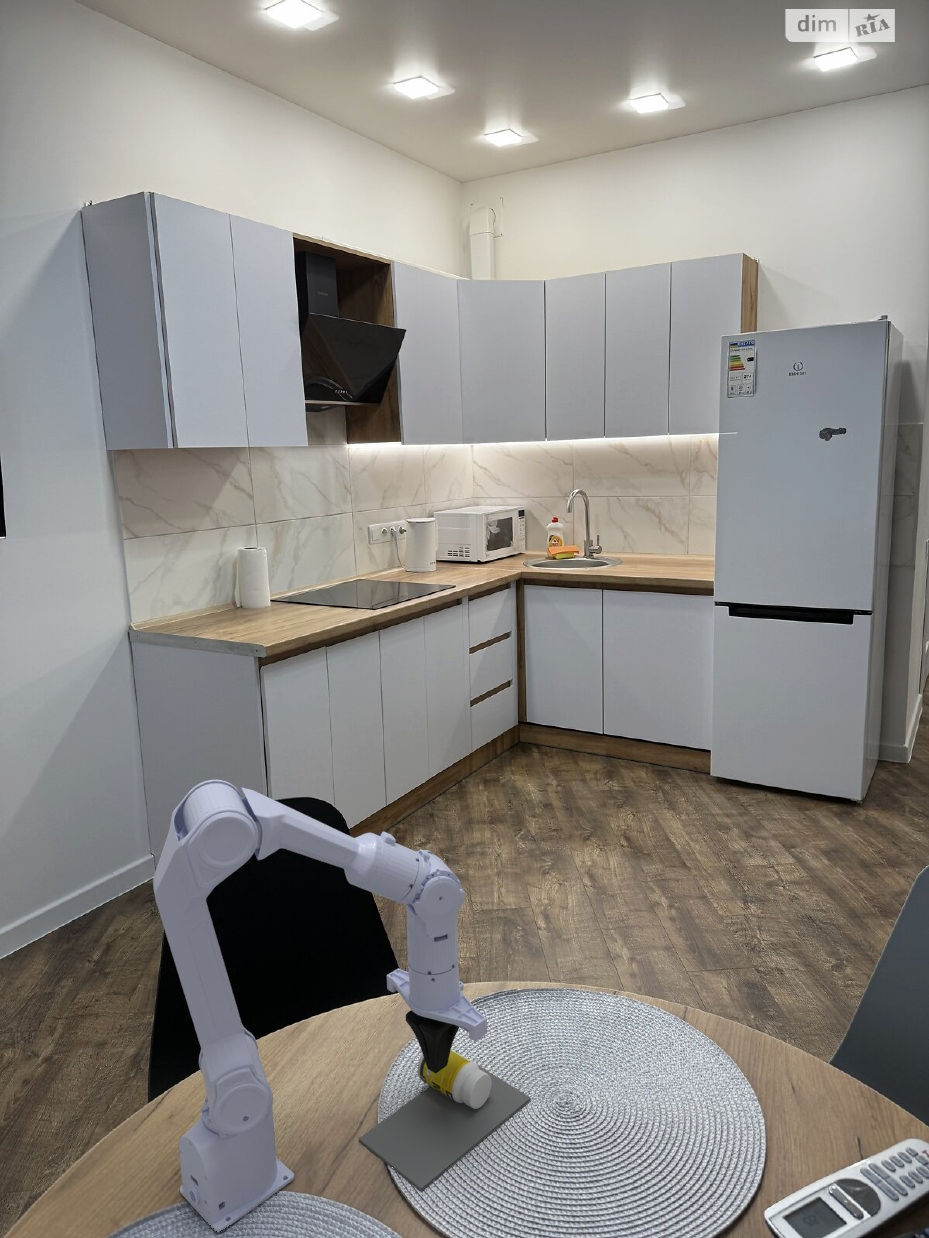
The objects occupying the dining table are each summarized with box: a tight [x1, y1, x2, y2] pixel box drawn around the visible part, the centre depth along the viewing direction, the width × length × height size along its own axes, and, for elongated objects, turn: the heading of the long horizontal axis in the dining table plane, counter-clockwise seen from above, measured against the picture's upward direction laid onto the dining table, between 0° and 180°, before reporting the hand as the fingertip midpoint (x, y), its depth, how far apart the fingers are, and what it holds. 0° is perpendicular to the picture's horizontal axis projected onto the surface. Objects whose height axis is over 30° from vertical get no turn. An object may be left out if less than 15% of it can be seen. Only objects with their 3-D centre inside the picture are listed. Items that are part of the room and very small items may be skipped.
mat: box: [358, 1064, 532, 1193], centre depth 104 cm, size 18×10×1 cm, turn 136°
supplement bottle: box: [416, 1049, 492, 1109], centre depth 107 cm, size 5×5×8 cm
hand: (437, 1066), depth 103 cm, fingers closed
